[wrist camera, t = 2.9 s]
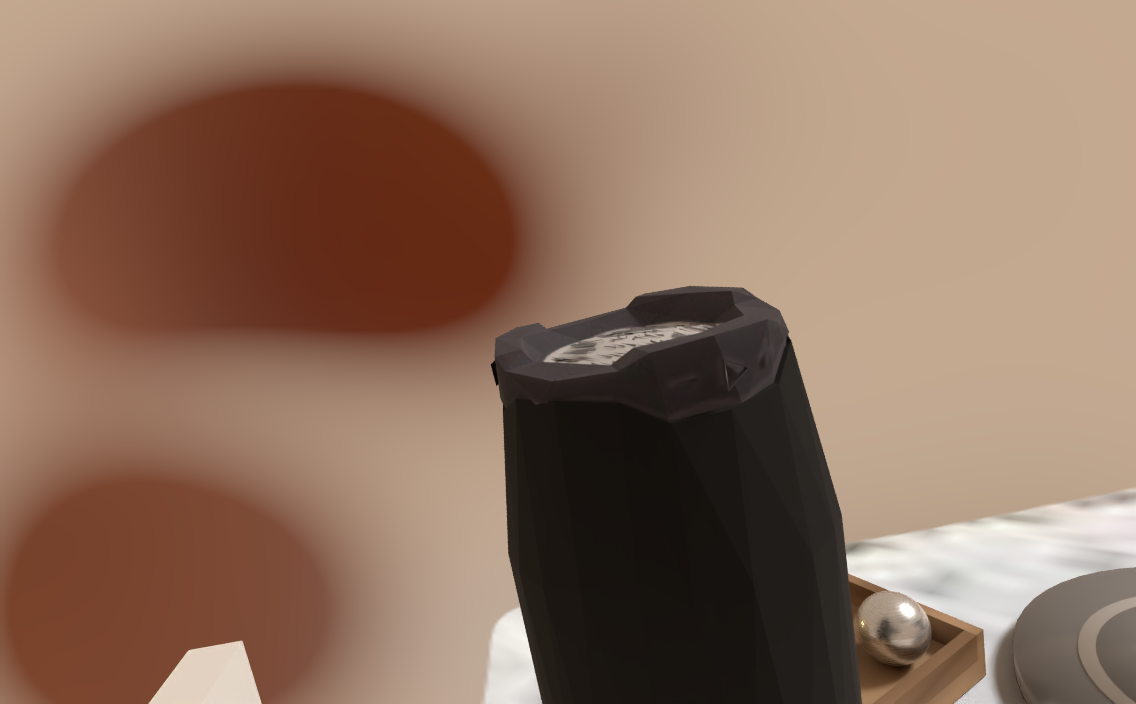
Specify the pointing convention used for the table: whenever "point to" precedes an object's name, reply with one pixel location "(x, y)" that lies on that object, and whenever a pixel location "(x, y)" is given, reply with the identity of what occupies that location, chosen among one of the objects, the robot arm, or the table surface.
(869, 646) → the steel ball
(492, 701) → the table surface
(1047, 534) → the table surface
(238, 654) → the robot arm
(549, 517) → the portable speaker
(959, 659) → the walnut dish
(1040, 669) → the slate trivet
